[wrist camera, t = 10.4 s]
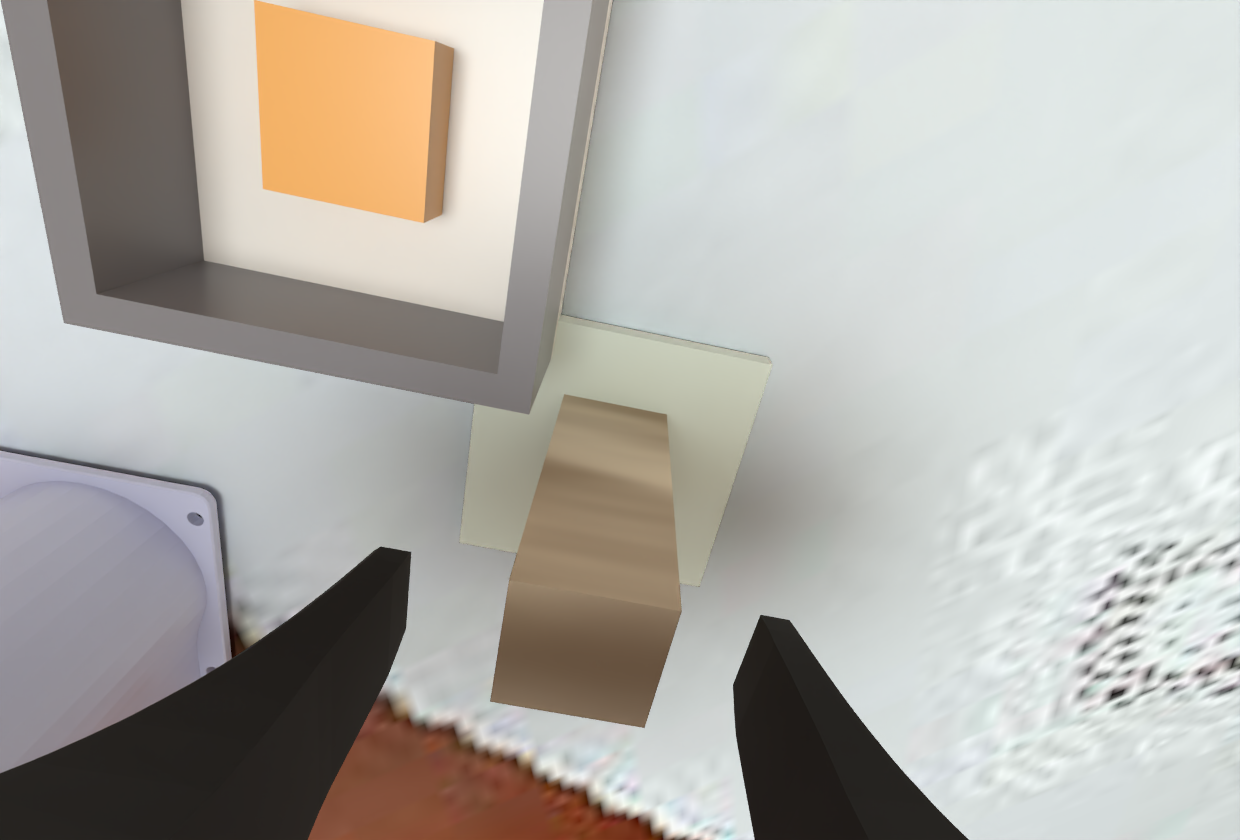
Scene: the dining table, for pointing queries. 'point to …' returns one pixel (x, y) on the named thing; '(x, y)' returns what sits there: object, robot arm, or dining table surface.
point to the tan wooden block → (594, 570)
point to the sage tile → (634, 377)
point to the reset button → (352, 113)
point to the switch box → (300, 227)
